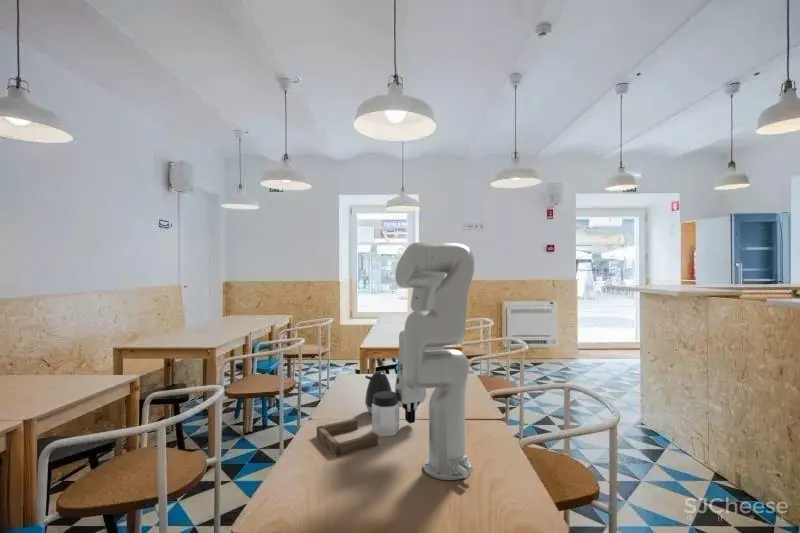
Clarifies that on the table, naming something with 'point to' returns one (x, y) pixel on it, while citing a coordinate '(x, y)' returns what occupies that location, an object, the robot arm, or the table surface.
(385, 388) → the pump dispenser
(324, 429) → the walnut bay
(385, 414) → the jar
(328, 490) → the table surface
